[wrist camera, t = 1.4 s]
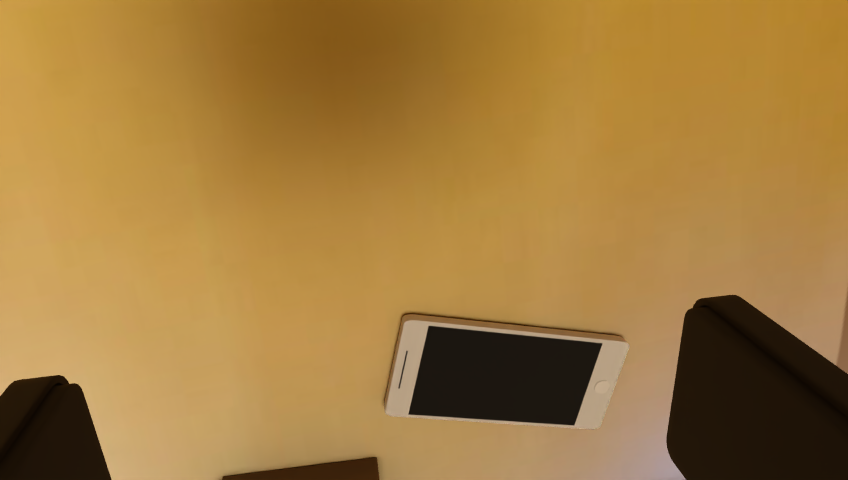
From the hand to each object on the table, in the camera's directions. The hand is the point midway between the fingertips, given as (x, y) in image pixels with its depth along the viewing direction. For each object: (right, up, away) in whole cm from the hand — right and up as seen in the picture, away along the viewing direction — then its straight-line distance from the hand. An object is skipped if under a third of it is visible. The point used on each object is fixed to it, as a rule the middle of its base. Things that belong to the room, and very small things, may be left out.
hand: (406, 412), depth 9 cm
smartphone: (+6, -6, +30) cm, 31 cm away
